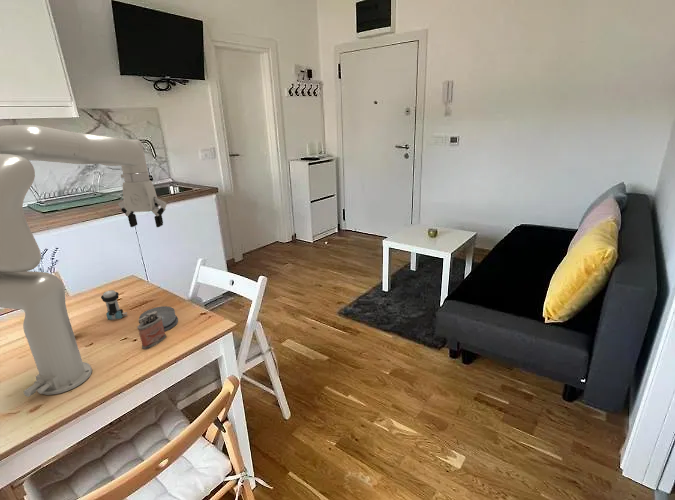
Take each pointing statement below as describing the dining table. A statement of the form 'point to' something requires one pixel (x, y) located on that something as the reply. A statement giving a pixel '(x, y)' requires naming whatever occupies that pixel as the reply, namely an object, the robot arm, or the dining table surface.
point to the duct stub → (164, 316)
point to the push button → (112, 305)
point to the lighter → (151, 330)
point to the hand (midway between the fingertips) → (146, 226)
